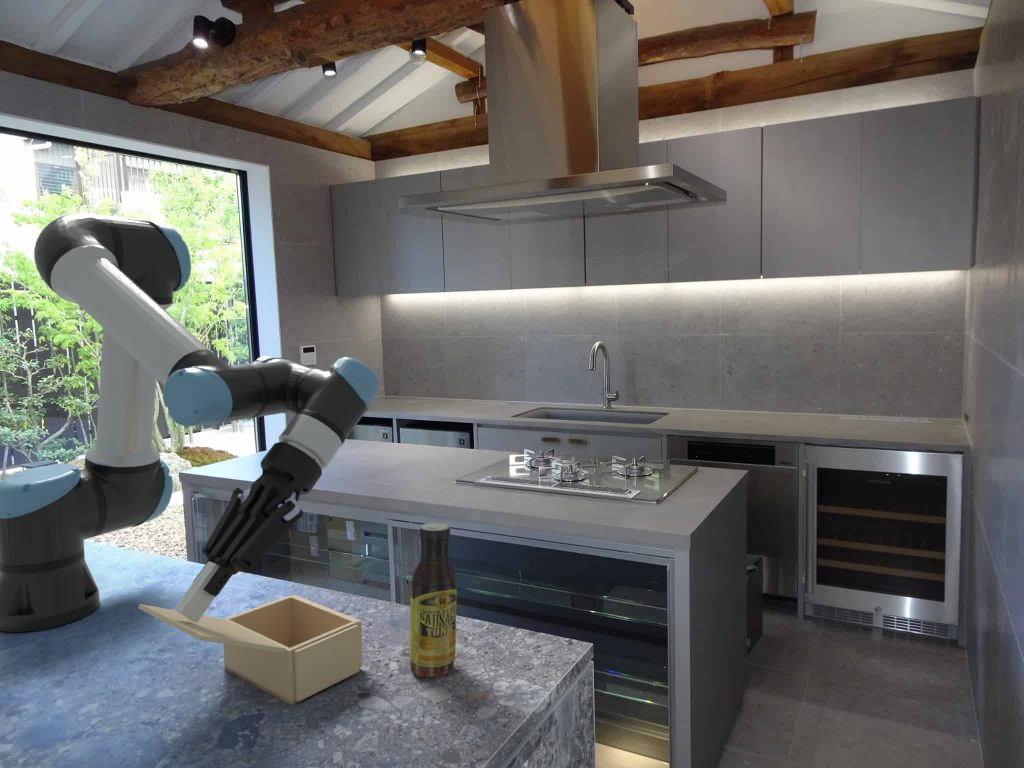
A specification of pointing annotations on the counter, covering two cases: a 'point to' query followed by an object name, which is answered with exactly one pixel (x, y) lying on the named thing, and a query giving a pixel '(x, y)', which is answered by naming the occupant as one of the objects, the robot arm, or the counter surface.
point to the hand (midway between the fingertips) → (185, 616)
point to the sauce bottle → (433, 605)
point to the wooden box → (296, 648)
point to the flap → (212, 629)
